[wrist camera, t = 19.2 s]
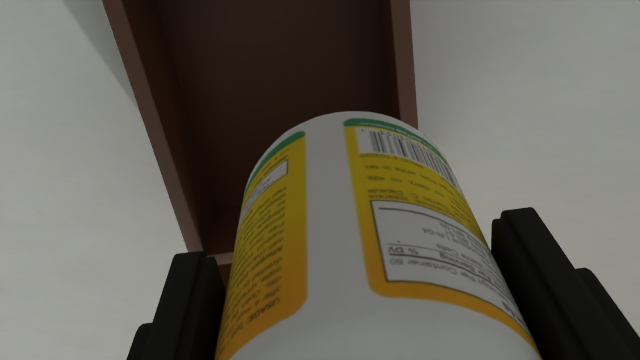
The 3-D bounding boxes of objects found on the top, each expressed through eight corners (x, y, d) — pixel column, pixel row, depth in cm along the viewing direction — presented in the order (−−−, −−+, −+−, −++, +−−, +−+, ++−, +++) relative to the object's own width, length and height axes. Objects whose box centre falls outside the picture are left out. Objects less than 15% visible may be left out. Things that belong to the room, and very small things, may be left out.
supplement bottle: (437, 80, 13) (712, 508, 4) (462, 260, 15) (662, 740, 7) (212, 134, 13) (61, 616, 5) (275, 299, 16) (248, 793, 7)
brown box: (127, -53, 26) (89, -34, 21) (385, -97, 25) (404, -88, 20) (208, 213, 33) (193, 270, 29) (408, 184, 32) (425, 237, 28)
